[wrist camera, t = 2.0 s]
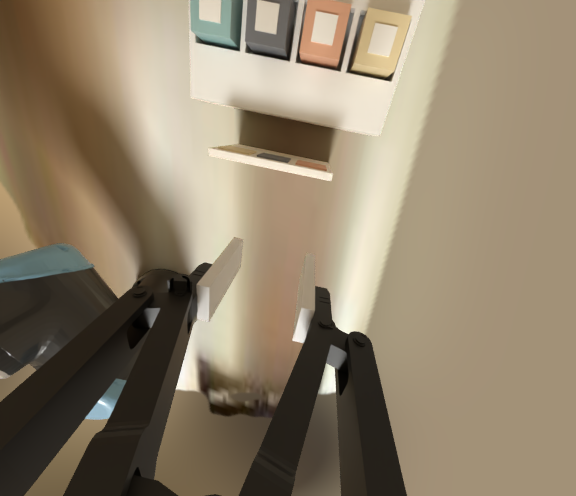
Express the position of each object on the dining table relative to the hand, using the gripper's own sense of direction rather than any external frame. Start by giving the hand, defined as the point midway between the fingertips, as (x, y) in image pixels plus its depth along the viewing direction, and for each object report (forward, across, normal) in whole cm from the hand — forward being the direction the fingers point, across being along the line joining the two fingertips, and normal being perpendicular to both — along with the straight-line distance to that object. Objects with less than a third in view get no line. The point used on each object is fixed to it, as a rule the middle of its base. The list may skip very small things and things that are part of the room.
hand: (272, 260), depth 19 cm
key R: (+18, -12, +19) cm, 28 cm away
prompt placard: (+21, -3, +6) cm, 22 cm away
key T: (+18, +6, +19) cm, 27 cm away
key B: (+18, 0, +19) cm, 26 cm away
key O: (+18, -6, +19) cm, 27 cm away
